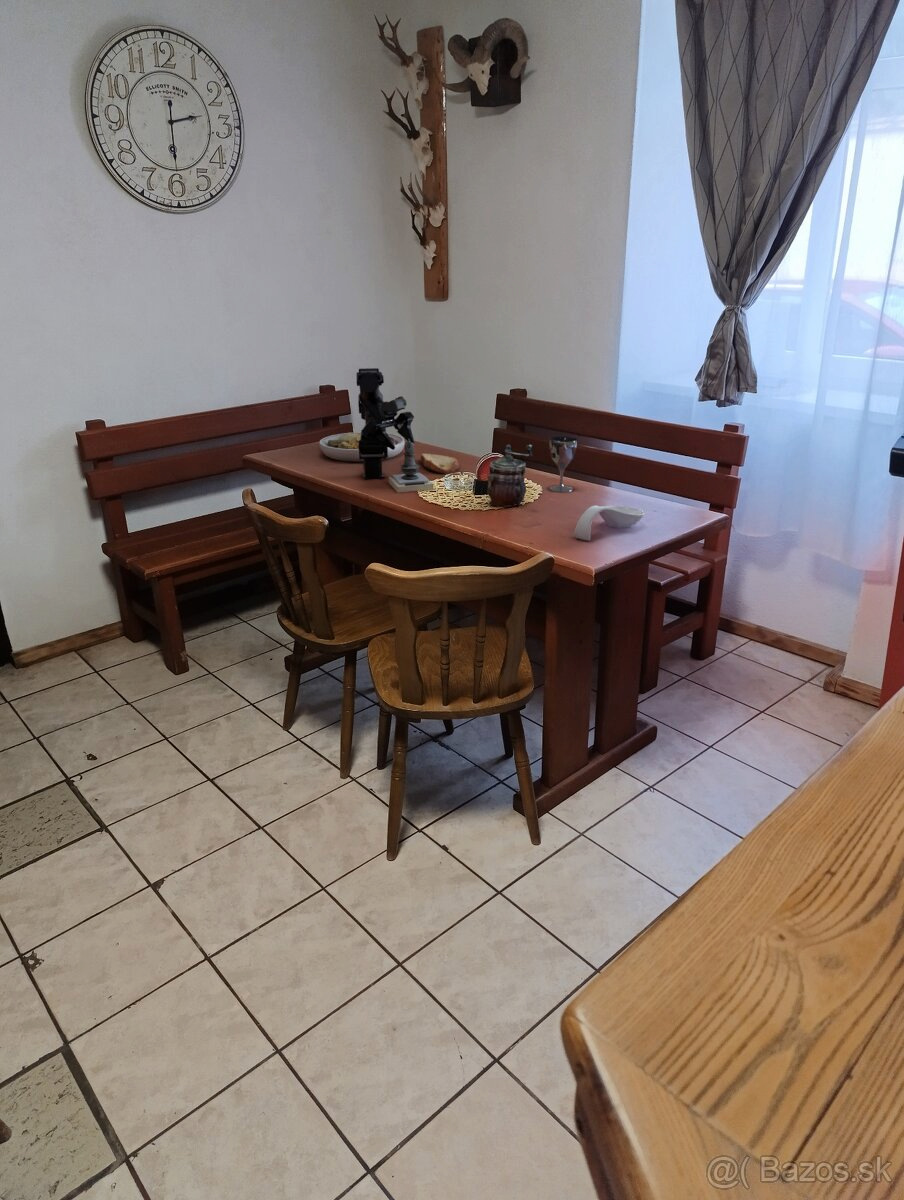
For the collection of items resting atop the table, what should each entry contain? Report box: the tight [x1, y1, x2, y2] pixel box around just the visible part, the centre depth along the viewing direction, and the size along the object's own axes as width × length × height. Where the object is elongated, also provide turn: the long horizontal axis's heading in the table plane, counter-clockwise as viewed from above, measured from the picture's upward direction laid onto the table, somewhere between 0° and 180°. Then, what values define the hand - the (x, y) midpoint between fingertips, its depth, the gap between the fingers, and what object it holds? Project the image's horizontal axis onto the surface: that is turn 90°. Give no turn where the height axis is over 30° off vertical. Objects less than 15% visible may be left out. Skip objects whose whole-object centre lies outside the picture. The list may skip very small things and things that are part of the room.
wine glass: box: [548, 436, 578, 493], centre depth 242 cm, size 8×8×15 cm
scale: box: [388, 472, 434, 494], centre depth 248 cm, size 12×11×3 cm
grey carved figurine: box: [399, 439, 420, 480], centre depth 246 cm, size 6×6×12 cm
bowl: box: [318, 431, 406, 463], centre depth 288 cm, size 30×30×8 cm
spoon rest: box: [573, 504, 646, 541], centre depth 207 cm, size 24×12×7 cm, turn 137°
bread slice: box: [420, 453, 460, 475], centre depth 271 cm, size 18×18×4 cm
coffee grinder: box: [486, 444, 534, 508], centre depth 227 cm, size 13×15×18 cm
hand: (404, 446), depth 246 cm, fingers open, 9 cm apart
